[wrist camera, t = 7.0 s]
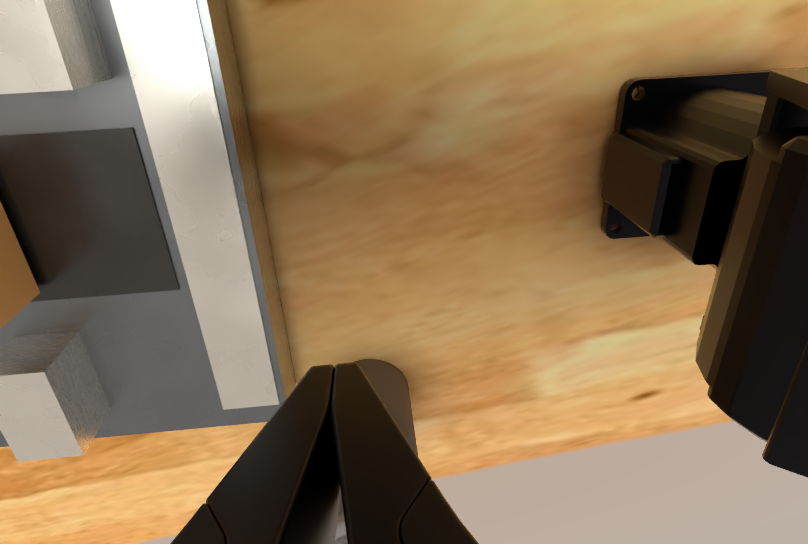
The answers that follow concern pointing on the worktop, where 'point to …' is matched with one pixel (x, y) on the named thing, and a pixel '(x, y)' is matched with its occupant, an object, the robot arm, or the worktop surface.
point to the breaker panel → (132, 227)
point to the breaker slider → (13, 274)
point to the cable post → (397, 402)
